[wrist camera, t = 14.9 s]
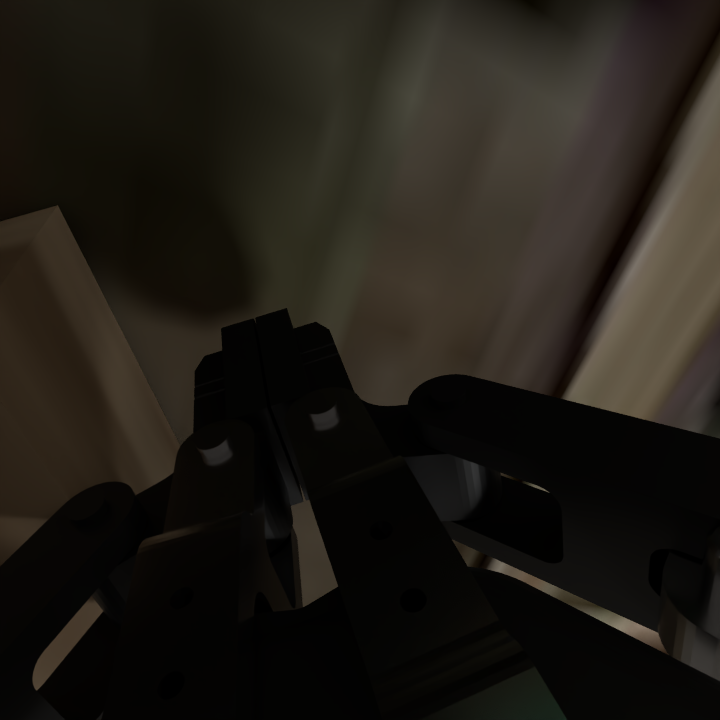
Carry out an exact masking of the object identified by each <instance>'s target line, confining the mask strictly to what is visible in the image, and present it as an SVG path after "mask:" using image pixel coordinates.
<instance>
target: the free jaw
mask: <svg viewBox="0 0 720 720" xmlns="http://www.w3.org/2000/svg"><path fill="white" fill-rule="evenodd" d="M179 448H180V445H179V443H178V441H177V439H176V437H175V435H174V433H173V431H172V429H171V427H170V425H169V423H168V421H167V419H166V417H165V415H164V413H163V411H162V409H161V407H160V405H159V403H158V401H157V399H156V397H155V395H154V393H153V391H152V389H151V388H150V386H149V384H148V382H147V380H146V378H145V376H144V374H143V372H142V370H141V368H140V366H139V364H138V362H137V360H136V358H135V356H134V354H133V352H132V350H131V348H130V346H129V344H128V342H127V340H126V338H125V336H124V334H123V332H122V331H121V329H120V327H119V325H118V323H117V321H116V319H115V317H114V315H113V313H112V311H111V309H110V307H109V305H108V303H107V301H106V299H105V297H104V295H103V293H102V291H101V289H100V287H99V285H98V283H97V281H96V279H95V277H94V275H93V274H92V272H91V270H90V268H89V266H88V264H87V262H86V260H85V258H84V256H83V254H82V252H81V250H80V248H79V246H78V244H77V242H76V240H75V238H74V236H73V234H72V232H71V230H70V228H69V226H68V224H67V222H66V220H65V218H64V217H63V215H62V213H61V211H60V209H59V207H58V205H57V206H53V207H50V208H46V209H43V210H39V211H36V212H32V213H29V214H25V215H21V216H18V217H14V218H11V219H7V220H4V221H0V566H1V565H2V564H3V563H4V562H5V561H6V560H7V559H8V558H9V557H10V556H11V555H12V554H13V553H14V552H15V551H16V550H17V549H18V548H19V547H20V546H21V545H23V544H24V543H25V542H26V541H27V540H28V539H29V538H30V537H31V536H32V535H33V534H34V533H35V532H36V531H37V530H38V529H39V528H40V527H41V526H42V525H43V524H44V523H45V522H46V521H47V520H48V519H49V518H50V517H51V516H52V515H53V514H54V513H55V512H56V511H58V510H59V509H60V508H61V507H62V506H63V505H64V504H65V503H66V502H67V501H68V500H70V499H71V498H72V497H74V496H75V495H77V494H78V493H80V492H82V491H83V490H85V489H87V488H89V487H92V486H94V485H97V484H101V483H105V482H113V481H117V482H123V483H126V484H127V485H129V486H130V487H131V488H132V490H133V491H134V493H135V495H137V494H139V493H140V492H142V491H144V490H146V489H148V488H149V487H151V486H153V485H155V484H157V483H158V482H160V481H162V480H163V479H165V478H167V477H168V476H169V475H171V474H172V473H173V472H174V466H175V460H176V455H177V452H178V450H179ZM102 612H103V610H102V609H101V608H100V606H99V605H98V604H97V602H96V601H95V600H94V598H93V597H92V596H91V597H90V598H89V599H88V600H87V602H86V603H85V604H84V605H83V606H82V607H81V609H80V610H79V611H78V612H77V613H76V614H75V616H74V617H73V618H72V619H71V620H70V621H69V623H68V624H67V625H66V626H65V627H64V628H63V630H62V631H61V632H60V633H59V634H58V635H57V637H56V638H55V639H54V640H53V641H52V642H51V644H50V645H49V646H48V647H47V648H46V649H45V651H44V652H43V653H42V654H41V656H40V658H39V659H38V661H37V663H36V665H35V668H34V672H33V685H34V688H35V689H36V691H37V690H38V689H39V688H40V687H41V686H42V685H43V684H44V682H45V681H46V680H47V679H48V678H49V676H50V675H51V674H52V673H53V672H54V670H55V669H56V668H57V667H58V665H59V664H60V663H61V662H62V661H63V659H64V658H65V657H66V656H67V655H68V653H69V652H70V651H71V650H72V648H73V647H74V646H75V645H76V644H77V642H78V641H79V640H80V639H81V637H82V636H83V635H84V634H85V633H86V631H87V630H88V629H89V628H90V627H91V625H92V624H93V623H94V622H95V620H96V619H97V618H98V617H99V616H100V614H101V613H102Z"/></svg>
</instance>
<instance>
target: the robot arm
mask: <svg viewBox="0 0 720 720" xmlns="http://www.w3.org/2000/svg"><path fill="white" fill-rule="evenodd" d="M255 319H256V322H255V320H254V319H250V320H246V321H243V322H240V323H236V324H233V325H230V326H226V327H223V328H221V335H222V351H219V352H216V353H213V354H210V355H206V356H204V358H203V359H202V361H201V362H200V364H199V365H198V367H197V369H196V370H195V388H194V397H195V400H194V428H193V434H192V435H190V436H189V437H188V438H187V439H186V440H185V441H184V442H183V443H182V445H181V446H180V448H179V450H178V452H177V455H176V460H175V466H174V472H173V473H172V474H171V475H169V476H168V477H167V478H165V479H163V480H162V481H160V482H158V483H157V484H155V485H153V486H151V487H149V488H148V489H146V490H144V491H142V492H140V493H139V494H137V495H135V493H134V491H133V490H132V488H131V487H130V486H129V485H127V484H126V483H123V482H117V481H113V482H105V483H101V484H97V485H94V486H92V487H89V488H87V489H85V490H83V491H82V492H80V493H78V494H77V495H75V496H74V497H72V498H71V499H70V500H68V501H67V502H66V503H65V504H64V505H63V506H62V507H61V508H60V509H59V510H58V511H56V512H55V513H54V514H53V515H52V516H51V517H50V518H49V519H48V520H47V521H46V522H45V523H44V524H43V525H42V526H41V527H40V528H39V529H38V530H37V531H36V532H35V533H34V534H33V535H32V536H31V537H30V538H29V539H28V540H27V541H26V542H25V543H24V544H23V545H21V546H20V547H19V548H18V549H17V550H16V551H15V552H14V553H13V554H12V555H11V556H10V557H9V558H8V559H7V560H6V561H5V562H4V563H3V564H2V565H1V566H0V720H720V439H719V438H715V437H711V436H707V435H703V434H699V433H695V432H691V431H687V430H683V429H679V428H675V427H671V426H667V425H663V424H659V423H655V422H651V421H647V420H643V419H639V418H635V417H631V416H627V415H623V414H619V413H615V412H611V411H608V410H604V409H600V408H596V407H592V406H588V405H584V404H580V403H576V402H572V401H568V400H564V399H560V398H556V397H552V396H548V395H544V394H540V393H536V392H532V391H528V390H524V389H520V388H516V387H512V386H508V385H504V384H500V383H496V382H492V381H488V380H484V379H480V378H476V377H472V376H467V375H459V374H452V375H443V376H439V377H435V378H433V379H430V380H428V381H426V382H424V383H422V384H421V385H419V386H418V387H417V388H416V389H415V390H414V391H413V392H412V394H411V395H410V397H409V401H408V405H399V406H378V405H373V404H370V403H367V402H365V401H363V400H361V399H360V397H359V396H358V395H357V394H356V393H355V392H354V390H353V388H352V385H351V383H350V380H349V378H348V375H347V373H346V370H345V368H344V365H343V363H342V360H341V358H340V355H339V353H338V350H337V348H336V345H335V343H334V340H333V338H332V335H331V333H330V330H329V329H327V328H326V327H324V326H322V325H320V324H319V323H317V322H314V323H310V324H307V325H304V326H301V327H297V328H294V329H293V326H292V323H291V319H290V316H289V313H288V310H287V308H285V309H282V310H279V311H276V312H272V313H269V314H266V315H262V316H259V317H256V318H255ZM500 472H501V473H504V474H506V475H509V476H512V477H515V478H518V479H521V480H523V481H526V482H529V483H532V484H535V485H537V486H540V487H542V488H544V489H545V490H547V491H548V492H550V493H548V492H546V491H543V490H540V489H537V488H534V487H532V486H529V485H526V484H523V483H520V482H518V481H515V480H512V479H509V478H506V477H504V476H501V473H500ZM300 485H301V488H302V491H303V493H304V496H305V499H306V500H310V503H311V506H312V509H313V512H314V515H315V518H316V521H317V524H318V527H319V530H320V533H321V536H322V539H323V542H324V545H325V548H326V551H327V554H328V557H329V560H330V563H331V566H332V569H333V572H334V575H335V578H336V581H337V584H338V587H337V588H335V589H333V590H332V591H330V592H328V593H327V594H325V595H324V596H322V597H320V598H319V599H317V600H315V601H314V602H312V603H310V604H309V605H307V606H305V607H303V602H302V590H301V577H300V565H299V552H298V540H297V535H296V533H295V530H294V528H293V526H292V525H293V517H292V511H291V506H292V505H295V504H298V503H301V502H303V498H302V493H301V488H300ZM452 539H453V540H455V541H457V542H460V543H462V544H464V545H466V546H468V547H471V548H473V549H475V550H477V551H479V552H482V553H484V554H486V555H488V556H490V557H493V558H495V559H497V560H499V561H501V562H504V563H506V564H508V565H510V566H513V567H515V568H517V569H519V570H521V571H524V572H526V573H528V574H530V575H532V576H535V577H537V578H539V579H541V580H543V581H546V582H548V583H550V584H552V585H554V586H557V587H559V588H561V589H563V590H565V591H568V592H570V593H572V594H574V595H576V596H579V597H581V598H583V599H585V600H587V601H590V602H592V603H594V604H596V605H598V606H601V607H603V608H605V609H607V610H609V611H612V612H614V613H616V614H618V615H620V616H623V617H625V618H627V619H629V620H631V621H634V622H636V623H638V624H640V625H642V626H645V627H647V628H649V629H651V630H653V631H656V632H658V633H659V637H660V639H661V642H662V644H663V646H664V648H665V650H666V652H667V653H668V654H669V655H667V654H665V653H663V652H661V651H659V650H657V649H655V648H653V647H651V646H649V645H647V644H645V643H643V642H641V641H639V640H637V639H635V638H633V637H631V636H629V635H628V634H626V633H624V632H622V631H620V630H618V629H616V628H614V627H612V626H610V625H608V624H606V623H604V622H602V621H600V620H598V619H596V618H594V617H592V616H590V615H588V614H586V613H584V612H582V611H580V610H578V609H576V608H574V607H572V606H570V605H568V604H566V603H564V602H562V601H560V600H558V599H556V598H554V597H552V596H550V595H548V594H546V593H544V592H542V591H540V590H538V589H536V588H534V587H533V586H531V585H529V584H527V583H525V582H522V581H520V580H518V579H516V578H513V577H511V576H508V575H505V574H502V573H499V572H495V571H491V570H487V569H482V568H474V567H468V566H467V565H466V563H465V561H464V560H463V558H462V556H461V554H460V553H459V551H458V549H457V548H456V546H455V544H454V543H453V541H452ZM91 596H92V597H93V598H94V600H95V601H96V602H97V604H98V605H99V606H100V608H101V609H102V610H103V612H102V613H101V614H100V616H99V617H98V618H97V619H96V620H95V622H94V623H93V624H92V625H91V627H90V628H89V629H88V630H87V631H86V633H85V634H84V635H83V636H82V637H81V639H80V640H79V641H78V642H77V644H76V645H75V646H74V647H73V648H72V650H71V651H70V652H69V653H68V655H67V656H66V657H65V658H64V659H63V661H62V662H61V663H60V664H59V665H58V667H57V668H56V669H55V670H54V672H53V673H52V674H51V675H50V676H49V678H48V679H47V680H46V681H45V682H44V684H43V685H42V686H41V687H40V688H39V689H38V690H37V691H36V689H35V688H34V685H33V672H34V668H35V665H36V663H37V661H38V659H39V658H40V656H41V654H42V653H43V652H44V651H45V649H46V648H47V647H48V646H49V645H50V644H51V642H52V641H53V640H54V639H55V638H56V637H57V635H58V634H59V633H60V632H61V631H62V630H63V628H64V627H65V626H66V625H67V624H68V623H69V621H70V620H71V619H72V618H73V617H74V616H75V614H76V613H77V612H78V611H79V610H80V609H81V607H82V606H83V605H84V604H85V603H86V602H87V600H88V599H89V598H90V597H91Z"/></svg>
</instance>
